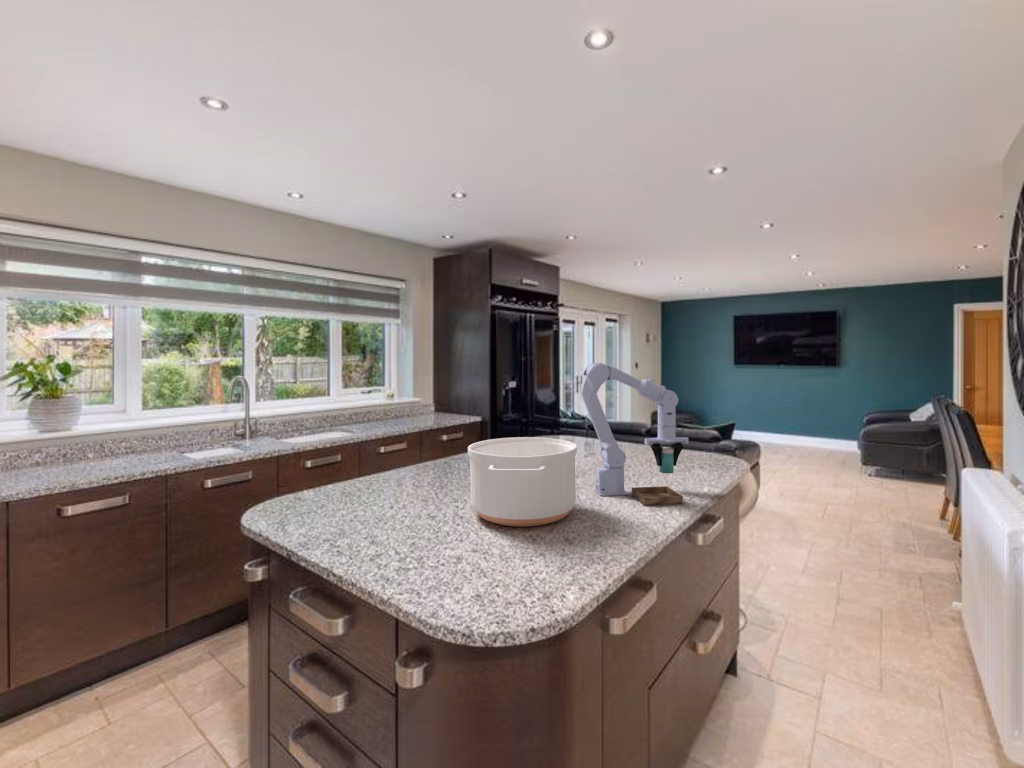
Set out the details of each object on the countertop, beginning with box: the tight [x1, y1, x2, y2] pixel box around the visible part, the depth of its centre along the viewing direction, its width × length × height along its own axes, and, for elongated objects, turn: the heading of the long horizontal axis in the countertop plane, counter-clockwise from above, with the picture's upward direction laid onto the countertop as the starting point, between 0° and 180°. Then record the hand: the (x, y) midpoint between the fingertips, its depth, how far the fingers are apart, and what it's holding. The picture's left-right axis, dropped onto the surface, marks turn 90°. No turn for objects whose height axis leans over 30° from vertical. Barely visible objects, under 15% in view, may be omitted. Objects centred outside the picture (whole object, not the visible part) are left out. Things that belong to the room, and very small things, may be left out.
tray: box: [631, 485, 684, 507], centre depth 155 cm, size 12×12×2 cm
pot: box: [467, 436, 578, 528], centre depth 143 cm, size 42×32×20 cm
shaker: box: [658, 446, 675, 475], centre depth 164 cm, size 5×5×8 cm
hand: (666, 465), depth 165 cm, fingers closed on shaker, 5 cm apart
